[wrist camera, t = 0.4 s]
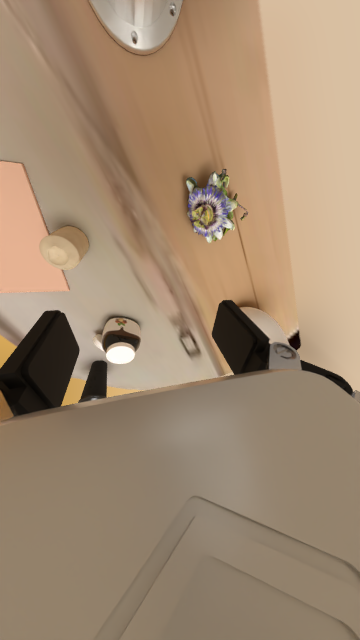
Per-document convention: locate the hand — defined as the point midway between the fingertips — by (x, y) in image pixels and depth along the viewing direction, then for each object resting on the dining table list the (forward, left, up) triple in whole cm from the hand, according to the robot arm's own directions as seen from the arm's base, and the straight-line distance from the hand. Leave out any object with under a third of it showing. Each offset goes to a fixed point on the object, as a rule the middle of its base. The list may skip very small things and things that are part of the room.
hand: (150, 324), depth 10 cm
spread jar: (+28, -8, -32) cm, 43 cm away
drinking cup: (+44, -16, -32) cm, 57 cm away
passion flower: (-5, +15, -32) cm, 36 cm away
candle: (+3, -13, -32) cm, 35 cm away
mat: (+3, -24, -32) cm, 40 cm away
